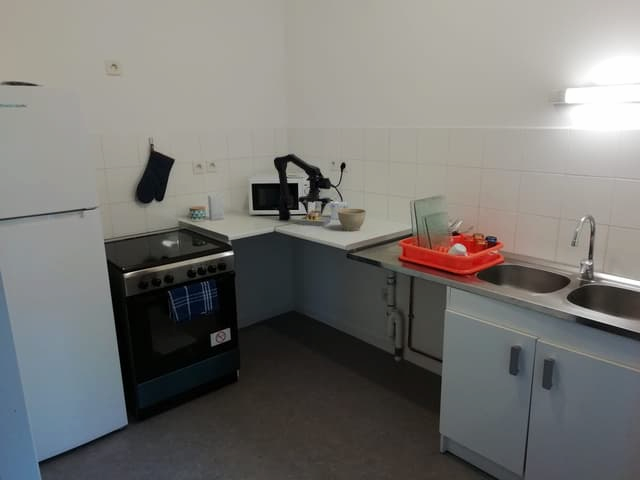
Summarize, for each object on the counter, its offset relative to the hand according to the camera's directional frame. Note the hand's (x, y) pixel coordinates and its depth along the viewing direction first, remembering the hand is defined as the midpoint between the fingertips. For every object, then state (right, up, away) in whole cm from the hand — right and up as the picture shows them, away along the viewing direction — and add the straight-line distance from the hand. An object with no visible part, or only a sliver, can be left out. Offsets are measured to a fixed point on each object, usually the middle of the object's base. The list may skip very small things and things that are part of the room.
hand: (314, 213), depth 302 cm
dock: (0, -6, +1) cm, 6 cm away
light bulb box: (+16, -2, +16) cm, 22 cm away
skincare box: (-63, -3, +15) cm, 65 cm away
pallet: (0, -3, +1) cm, 3 cm away
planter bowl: (+22, -10, -15) cm, 28 cm away
